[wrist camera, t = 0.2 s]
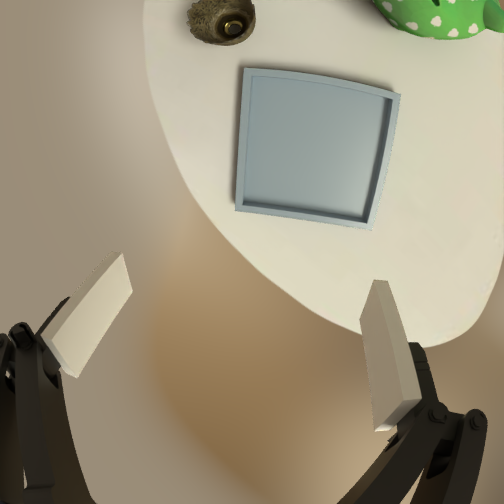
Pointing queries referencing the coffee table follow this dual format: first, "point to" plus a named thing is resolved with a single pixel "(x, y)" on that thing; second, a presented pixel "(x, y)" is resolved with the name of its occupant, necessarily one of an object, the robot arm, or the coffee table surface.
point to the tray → (313, 147)
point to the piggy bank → (443, 17)
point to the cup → (221, 20)
